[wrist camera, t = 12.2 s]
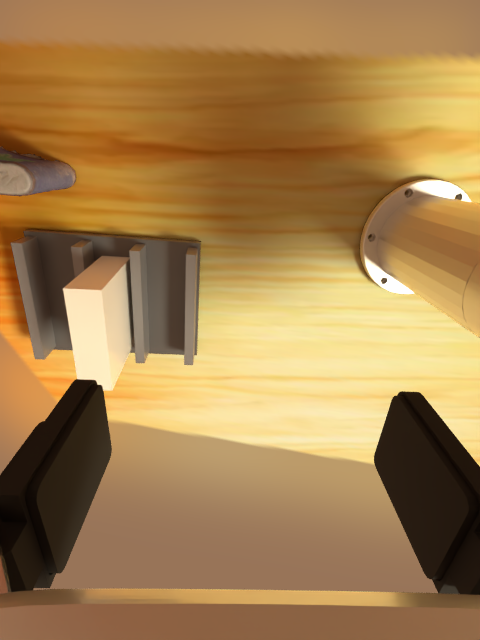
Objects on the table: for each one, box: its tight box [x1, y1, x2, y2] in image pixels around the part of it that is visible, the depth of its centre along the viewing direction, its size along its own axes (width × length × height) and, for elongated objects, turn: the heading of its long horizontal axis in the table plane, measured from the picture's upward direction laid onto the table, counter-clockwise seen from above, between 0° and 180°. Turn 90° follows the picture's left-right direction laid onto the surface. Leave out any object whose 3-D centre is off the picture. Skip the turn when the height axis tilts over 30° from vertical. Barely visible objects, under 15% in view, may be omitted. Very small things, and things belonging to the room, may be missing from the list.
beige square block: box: [63, 256, 135, 390], centre depth 34 cm, size 3×10×10 cm, turn 176°
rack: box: [11, 229, 201, 365], centre depth 37 cm, size 18×14×4 cm
